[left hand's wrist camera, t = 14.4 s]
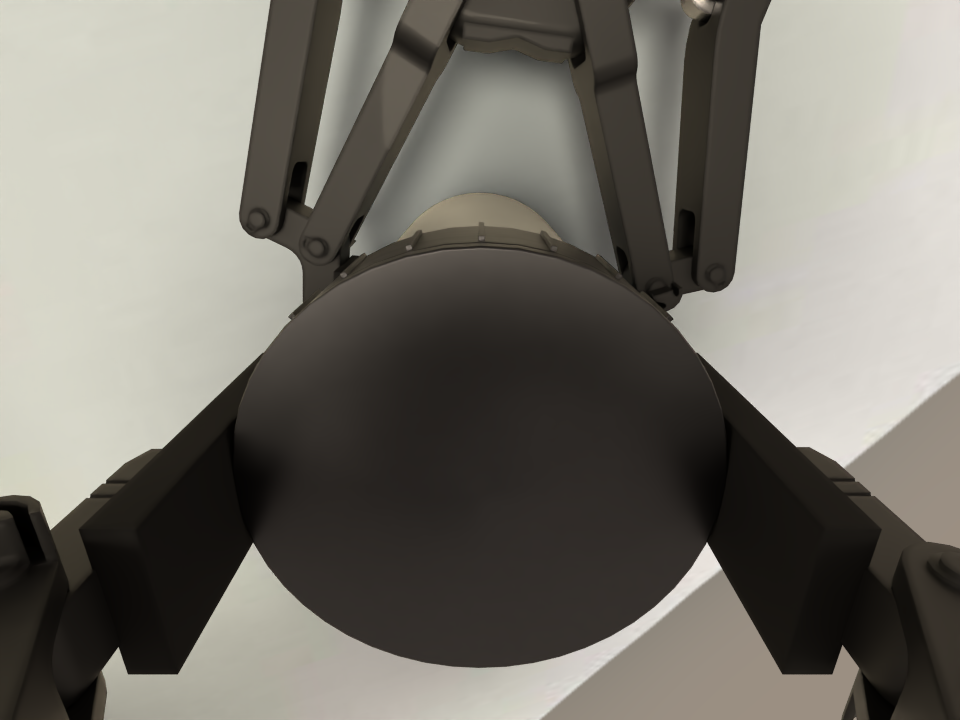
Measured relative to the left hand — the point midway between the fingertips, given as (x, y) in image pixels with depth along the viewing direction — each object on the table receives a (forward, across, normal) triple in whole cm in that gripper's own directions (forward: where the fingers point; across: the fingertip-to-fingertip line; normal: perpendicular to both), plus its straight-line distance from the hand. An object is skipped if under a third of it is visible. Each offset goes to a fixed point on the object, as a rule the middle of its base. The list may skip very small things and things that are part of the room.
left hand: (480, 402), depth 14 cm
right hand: (+6, -1, -5) cm, 8 cm away
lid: (-3, 0, 0) cm, 3 cm away
